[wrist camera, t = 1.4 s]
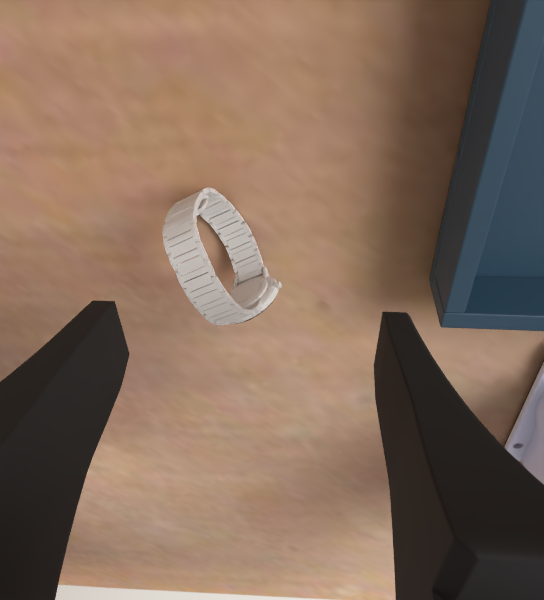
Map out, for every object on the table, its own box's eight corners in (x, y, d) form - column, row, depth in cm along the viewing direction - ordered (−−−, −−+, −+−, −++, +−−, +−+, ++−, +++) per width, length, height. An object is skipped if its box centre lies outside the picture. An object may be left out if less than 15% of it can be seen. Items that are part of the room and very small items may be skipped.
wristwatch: (232, 275, 24) (215, 355, 20) (167, 188, 21) (133, 260, 17) (287, 252, 23) (280, 331, 19) (226, 157, 20) (204, 227, 16)
